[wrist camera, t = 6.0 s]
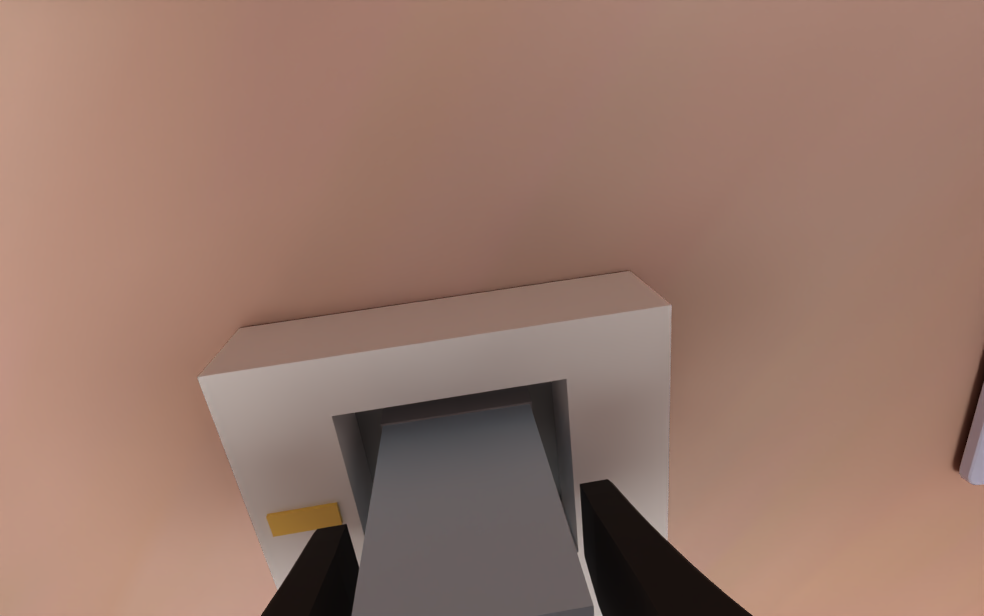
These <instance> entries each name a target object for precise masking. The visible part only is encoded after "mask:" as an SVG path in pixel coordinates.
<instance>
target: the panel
mask: <svg viewBox="0 0 984 616" xmlns="http://www.w3.org/2000/svg"><path fill="white" fill-rule="evenodd" d="M671 318H672V305H671V304H670V303H669V302H667V301H666V300H665V299H664V298H663V297H661V296H660V295H659V294H658V293H657V292H655V291H654V290H653V289H652V288H650V287H649V286H648V285H647V284H646V283H644V282H643V281H642V280H641V279H639V278H638V277H637V276H636V275H635V274H633V273H632V272H631V271H625V272H618V273H611V274H605V275H598V276H591V277H584V278H577V279H571V280H564V281H557V282H550V283H543V284H537V285H530V286H523V287H516V288H509V289H503V290H496V291H489V292H482V293H475V294H469V295H462V296H455V297H448V298H441V299H435V300H428V301H421V302H414V303H407V304H401V305H394V306H387V307H380V308H373V309H367V310H360V311H353V312H346V313H339V314H333V315H326V316H319V317H312V318H305V319H299V320H292V321H285V322H278V323H271V324H265V325H258V326H251V327H244V328H239V329H238V330H237V331H236V333H235V334H234V335H233V336H232V337H231V338H230V340H229V341H228V342H227V343H226V344H225V345H224V347H223V348H222V349H221V350H220V351H219V352H218V353H217V355H216V356H215V357H214V358H213V359H212V360H211V362H210V363H209V364H208V365H207V366H206V367H205V369H204V370H203V371H202V372H201V373H200V374H199V375H198V377H197V378H198V381H199V384H200V386H201V389H202V392H203V394H204V397H205V400H206V402H207V405H208V407H209V410H210V413H211V415H212V418H213V421H214V423H215V426H216V429H217V431H218V434H219V437H220V439H221V442H222V445H223V447H224V450H225V452H226V455H227V458H228V460H229V463H230V466H231V468H232V471H233V474H234V476H235V479H236V482H237V484H238V487H239V490H240V492H241V495H242V498H243V500H244V503H245V505H246V508H247V511H248V513H249V516H250V519H251V521H252V524H253V527H254V529H255V532H256V535H257V537H258V540H259V543H260V545H261V548H262V551H263V553H264V556H265V558H266V561H267V564H268V566H269V569H270V572H271V574H272V577H273V580H274V582H275V585H276V588H277V590H278V589H279V588H280V586H281V584H282V583H283V581H284V580H285V578H286V577H287V575H288V573H289V572H290V570H291V569H292V567H293V565H294V564H295V562H296V561H297V559H298V557H299V556H300V554H301V553H302V551H303V549H304V548H305V546H306V544H307V543H308V541H309V540H310V538H311V536H312V535H313V533H314V532H315V531H316V530H317V529H320V528H326V527H331V526H337V525H343V524H347V527H348V530H349V534H350V537H351V541H352V544H353V548H354V551H355V555H356V558H357V562H358V565H359V567H360V561H361V555H362V549H363V543H364V537H365V531H366V525H367V519H368V513H369V506H370V500H371V494H372V488H373V482H374V476H375V470H376V464H377V458H378V452H379V446H380V440H381V434H382V430H381V425H380V424H381V418H382V412H383V408H386V407H393V406H399V405H405V404H411V403H418V402H424V401H430V400H437V399H443V398H449V397H455V396H462V395H468V394H474V393H481V392H487V391H493V390H499V389H506V388H512V387H518V386H525V385H526V386H527V389H528V392H529V395H530V398H531V401H532V411H533V415H534V419H535V422H536V425H537V428H538V431H539V434H540V438H541V441H542V444H543V447H544V450H545V453H546V456H547V460H548V463H549V466H550V469H551V472H552V475H553V479H554V482H555V485H556V488H557V491H558V494H559V498H560V501H561V504H562V507H563V510H564V513H565V517H566V520H567V523H568V526H569V529H570V532H571V535H572V539H573V542H574V545H575V548H576V551H577V554H578V558H579V561H580V564H581V567H582V570H583V573H584V577H585V580H586V583H587V586H588V589H589V592H590V596H591V599H592V602H593V605H594V616H603V615H602V613H601V610H600V608H599V605H598V602H597V599H596V595H595V592H594V588H593V585H592V582H591V578H590V574H589V571H588V567H587V564H586V560H585V557H584V545H583V529H582V513H581V498H580V484H582V483H588V482H593V481H599V480H605V479H608V480H610V481H611V482H612V483H613V484H614V485H615V486H616V487H617V488H618V489H619V491H620V492H621V493H622V494H623V495H624V496H625V497H626V498H627V500H628V501H629V502H630V503H631V504H632V505H633V506H634V507H635V508H636V509H637V510H638V512H639V513H640V514H641V515H642V516H643V517H644V518H645V519H646V520H647V521H648V522H649V523H650V524H651V525H652V526H653V527H654V528H655V529H656V530H657V531H658V532H659V533H660V534H661V535H662V536H663V537H664V538H665V539H666V540H667V541H668V489H669V432H670V375H671Z"/></svg>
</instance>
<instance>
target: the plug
mask: <svg viewBox="0 0 984 616" xmlns="http://www.w3.org/2000/svg"><path fill="white" fill-rule="evenodd" d="M380 425H381V430H382V434H381V440H380V446H379V452H378V458H377V464H376V470H375V476H374V482H373V488H372V494H371V500H370V506H369V513H368V519H367V525H366V531H365V537H364V543H363V549H362V555H361V561H360V567H359V573H358V579H357V585H356V591H355V597H354V603H353V609H352V615H351V616H594V605H593V602H592V599H591V596H590V592H589V589H588V586H587V583H586V580H585V577H584V573H583V570H582V567H581V564H580V561H579V558H578V554H577V551H576V548H575V545H574V542H573V539H572V535H571V532H570V529H569V526H568V523H567V520H566V517H565V513H564V510H563V507H562V504H561V501H560V498H559V494H558V491H557V488H556V485H555V482H554V479H553V475H552V472H551V469H550V466H549V463H548V460H547V456H546V453H545V450H544V447H543V444H542V441H541V438H540V434H539V431H538V428H537V425H536V422H535V419H534V415H533V411H532V401H531V398H530V395H529V392H528V389H527V386H526V385H525V386H518V387H512V388H506V389H499V390H493V391H487V392H481V393H474V394H468V395H462V396H455V397H449V398H443V399H437V400H430V401H424V402H418V403H411V404H405V405H399V406H393V407H386V408H383V412H382V418H381V424H380Z"/></svg>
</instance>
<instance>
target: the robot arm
mask: <svg viewBox="0 0 984 616" xmlns="http://www.w3.org/2000/svg"><path fill="white" fill-rule="evenodd" d="M959 474H960V476H961V477H962V478H963V479H965V480H966V481H968V482H969V483H971V484H973V485H982V484H984V383H983V386H982V390H981V393H980V397H979V400H978V404H977V408H976V411H975V415H974V418H973V422H972V425H971V429H970V433H969V436H968V440H967V443H966V447H965V450H964V454H963V457H962V461H961V465H960V469H959ZM580 498H581V513H582V529H583V545H584V557H585V560H586V564H587V567H588V571H589V574H590V578H591V582H592V585H593V588H594V592H595V595H596V599H597V602H598V605H599V608H600V610H601V613H602V615H603V616H752V615H751V614H750V613H749V612H747V611H746V610H745V609H744V608H742V607H741V606H740V605H739V604H737V603H736V602H735V601H734V600H733V599H731V598H730V597H729V596H728V595H727V594H725V593H724V592H723V591H722V590H721V589H719V588H718V587H717V586H716V585H715V584H714V583H713V582H711V581H710V580H709V579H708V578H707V577H706V576H704V575H703V574H702V573H701V572H700V571H699V570H698V569H697V568H696V567H694V566H693V565H692V564H691V563H690V562H689V561H688V560H687V559H686V558H685V557H684V556H683V555H682V554H680V553H679V552H678V551H677V550H676V549H675V548H674V547H673V546H672V545H671V544H670V543H669V542H668V541H667V540H666V539H665V538H664V537H663V536H662V535H661V534H660V533H659V532H658V531H657V530H656V529H655V528H654V527H653V526H652V525H651V524H650V523H649V522H648V521H647V520H646V519H645V518H644V517H643V516H642V515H641V514H640V513H639V512H638V510H637V509H636V508H635V507H634V506H633V505H632V504H631V503H630V502H629V501H628V500H627V498H626V497H625V496H624V495H623V494H622V493H621V492H620V491H619V489H618V488H617V487H616V486H615V485H614V484H613V483H612V482H611V481H610V480H608V479H605V480H599V481H593V482H588V483H582V484H580ZM358 573H359V565H358V562H357V558H356V555H355V551H354V548H353V544H352V541H351V537H350V534H349V530H348V527H347V524H343V525H337V526H331V527H326V528H320V529H317V530H316V531H315V532H314V533H313V535H312V536H311V538H310V540H309V541H308V543H307V544H306V546H305V548H304V549H303V551H302V553H301V554H300V556H299V557H298V559H297V561H296V562H295V564H294V565H293V567H292V569H291V570H290V572H289V573H288V575H287V577H286V578H285V580H284V581H283V583H282V584H281V586H280V588H279V589H278V591H277V592H276V594H275V595H274V597H273V598H272V600H271V601H270V603H269V604H268V606H267V607H266V609H265V610H264V612H263V613H262V615H261V616H351V615H352V609H353V603H354V597H355V591H356V585H357V579H358Z"/></svg>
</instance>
